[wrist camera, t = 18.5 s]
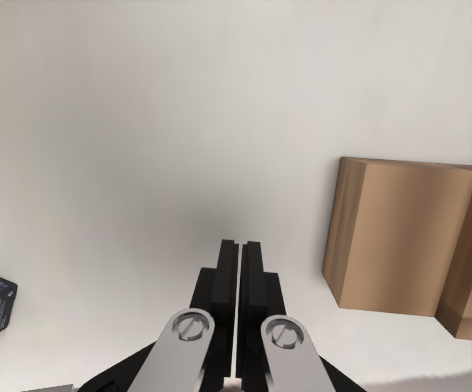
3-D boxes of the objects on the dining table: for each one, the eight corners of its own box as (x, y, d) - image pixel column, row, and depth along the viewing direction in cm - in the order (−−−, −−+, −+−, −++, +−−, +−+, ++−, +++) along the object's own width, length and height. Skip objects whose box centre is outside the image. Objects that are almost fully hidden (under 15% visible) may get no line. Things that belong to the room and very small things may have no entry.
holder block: (321, 273, 24) (348, 327, 17) (341, 156, 21) (382, 167, 14) (520, 291, 23) (630, 356, 16) (568, 172, 20) (723, 191, 14)
